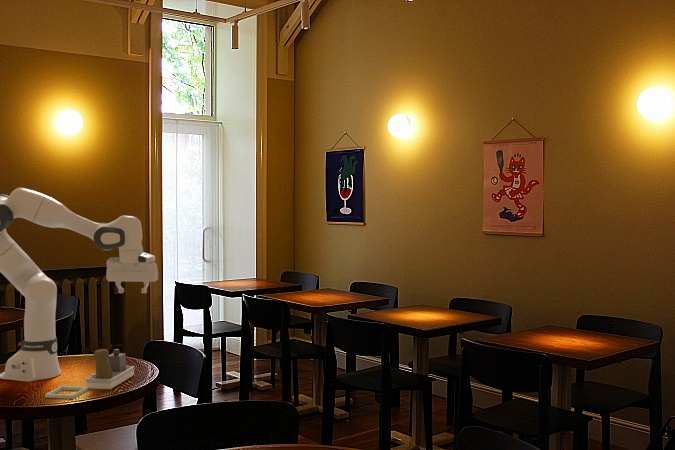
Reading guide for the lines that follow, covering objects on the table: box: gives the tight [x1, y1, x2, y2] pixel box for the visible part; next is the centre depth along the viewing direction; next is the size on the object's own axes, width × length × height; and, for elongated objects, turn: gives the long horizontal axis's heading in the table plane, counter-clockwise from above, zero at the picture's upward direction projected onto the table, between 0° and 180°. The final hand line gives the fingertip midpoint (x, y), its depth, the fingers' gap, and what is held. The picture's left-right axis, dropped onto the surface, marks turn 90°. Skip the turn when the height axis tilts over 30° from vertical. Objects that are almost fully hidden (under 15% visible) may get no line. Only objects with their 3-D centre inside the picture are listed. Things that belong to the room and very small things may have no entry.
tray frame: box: [44, 385, 89, 400], centre depth 252 cm, size 10×10×1 cm
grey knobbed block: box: [108, 348, 127, 372], centre depth 272 cm, size 5×5×9 cm
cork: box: [93, 348, 113, 379], centre depth 262 cm, size 6×6×11 cm
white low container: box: [85, 365, 135, 390], centre depth 268 cm, size 10×19×4 cm, turn 171°
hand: (132, 292), depth 279 cm, fingers open, 8 cm apart
